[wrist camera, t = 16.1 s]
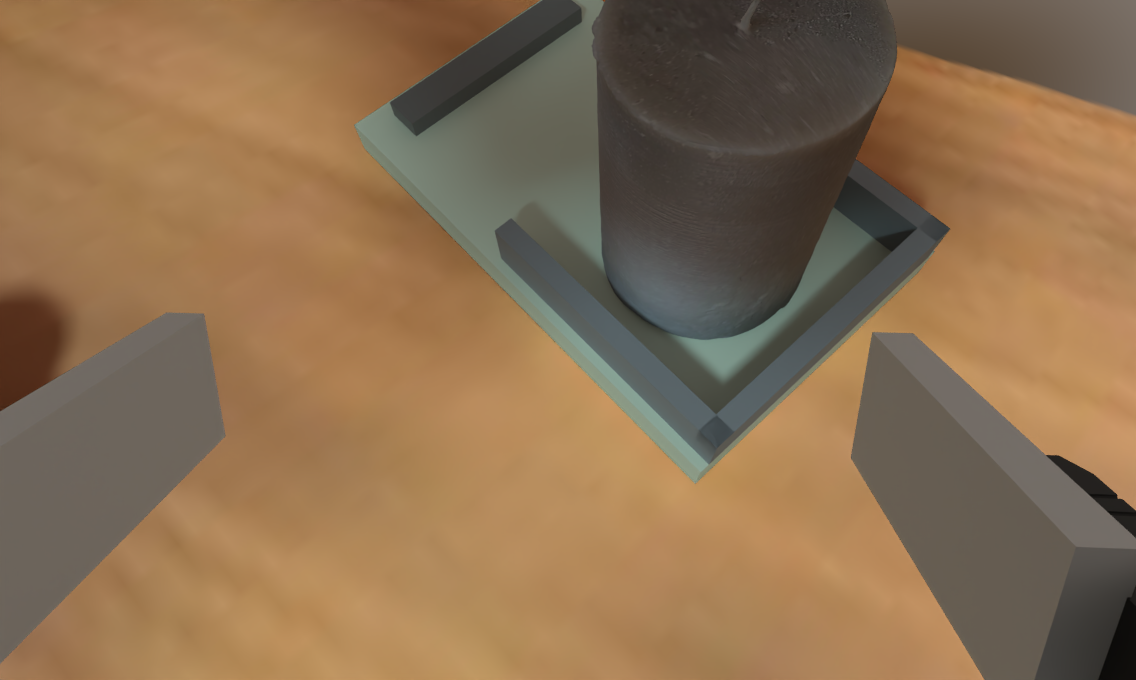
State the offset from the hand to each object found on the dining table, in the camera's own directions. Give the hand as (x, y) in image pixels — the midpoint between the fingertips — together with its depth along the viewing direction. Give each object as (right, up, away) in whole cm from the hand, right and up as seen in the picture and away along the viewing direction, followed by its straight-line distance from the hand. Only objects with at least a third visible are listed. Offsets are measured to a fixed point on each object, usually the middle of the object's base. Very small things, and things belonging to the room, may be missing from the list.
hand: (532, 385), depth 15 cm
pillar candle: (+7, +5, +22) cm, 23 cm away
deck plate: (+4, +8, +25) cm, 27 cm away
